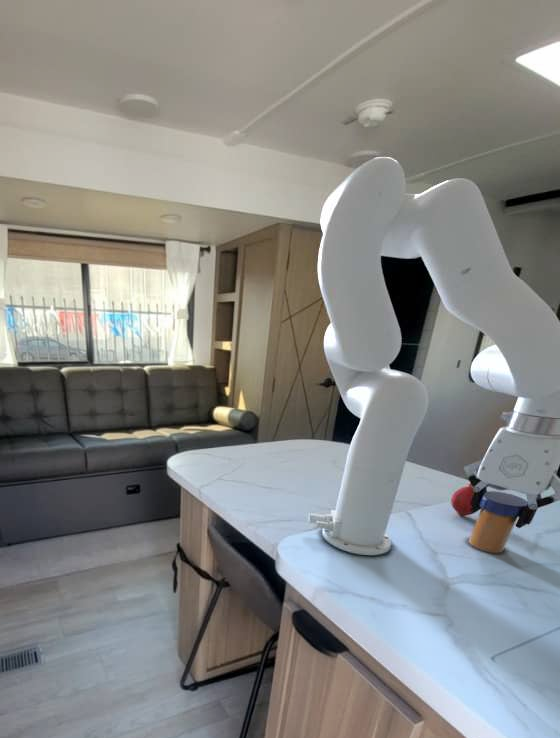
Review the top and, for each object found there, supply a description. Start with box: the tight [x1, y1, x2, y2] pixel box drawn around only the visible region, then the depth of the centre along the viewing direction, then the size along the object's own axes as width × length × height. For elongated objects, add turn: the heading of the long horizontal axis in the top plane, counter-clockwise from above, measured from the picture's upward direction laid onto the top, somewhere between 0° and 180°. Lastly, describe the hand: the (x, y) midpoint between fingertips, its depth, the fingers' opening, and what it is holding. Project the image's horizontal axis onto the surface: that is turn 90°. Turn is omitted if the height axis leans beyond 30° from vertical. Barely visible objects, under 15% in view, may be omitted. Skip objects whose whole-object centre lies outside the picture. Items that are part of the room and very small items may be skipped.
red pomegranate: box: [450, 482, 478, 517], centre depth 90 cm, size 6×6×8 cm
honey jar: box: [468, 508, 519, 554], centre depth 77 cm, size 6×6×10 cm
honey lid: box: [479, 490, 528, 518], centre depth 76 cm, size 7×7×2 cm
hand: (497, 517), depth 77 cm, fingers closed on honey lid, 6 cm apart
